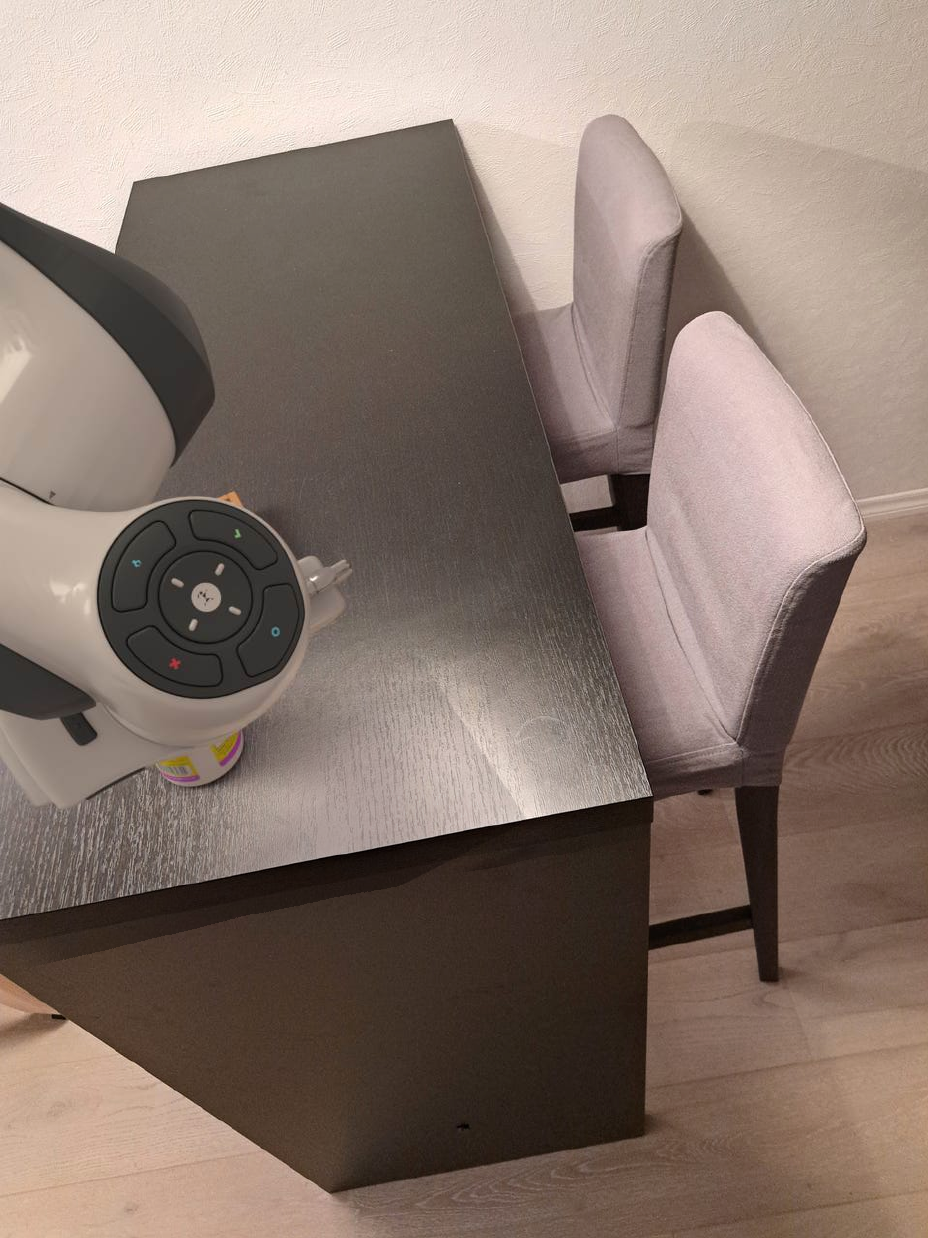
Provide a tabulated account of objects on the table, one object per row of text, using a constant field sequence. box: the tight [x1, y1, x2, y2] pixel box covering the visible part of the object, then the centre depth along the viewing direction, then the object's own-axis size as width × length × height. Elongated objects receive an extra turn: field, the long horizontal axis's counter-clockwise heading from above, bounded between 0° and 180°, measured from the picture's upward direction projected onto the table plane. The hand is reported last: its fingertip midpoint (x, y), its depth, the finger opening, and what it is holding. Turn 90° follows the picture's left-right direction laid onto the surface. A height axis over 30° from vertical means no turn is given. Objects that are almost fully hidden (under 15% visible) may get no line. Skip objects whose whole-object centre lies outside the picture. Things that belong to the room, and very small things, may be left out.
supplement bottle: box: [154, 729, 244, 788], centre depth 68 cm, size 7×7×13 cm
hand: (177, 688), depth 60 cm, fingers open, 8 cm apart
